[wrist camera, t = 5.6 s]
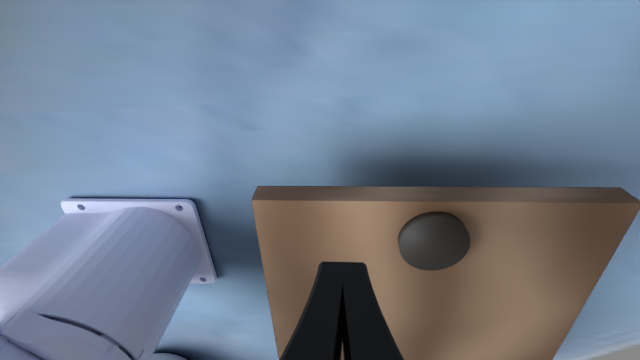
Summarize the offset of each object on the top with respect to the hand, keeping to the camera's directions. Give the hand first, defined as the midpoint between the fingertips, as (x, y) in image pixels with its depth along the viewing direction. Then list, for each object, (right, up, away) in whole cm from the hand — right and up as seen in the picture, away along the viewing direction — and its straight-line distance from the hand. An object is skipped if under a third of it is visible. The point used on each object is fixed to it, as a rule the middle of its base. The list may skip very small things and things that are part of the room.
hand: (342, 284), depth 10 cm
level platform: (+5, -6, +10) cm, 12 cm away
